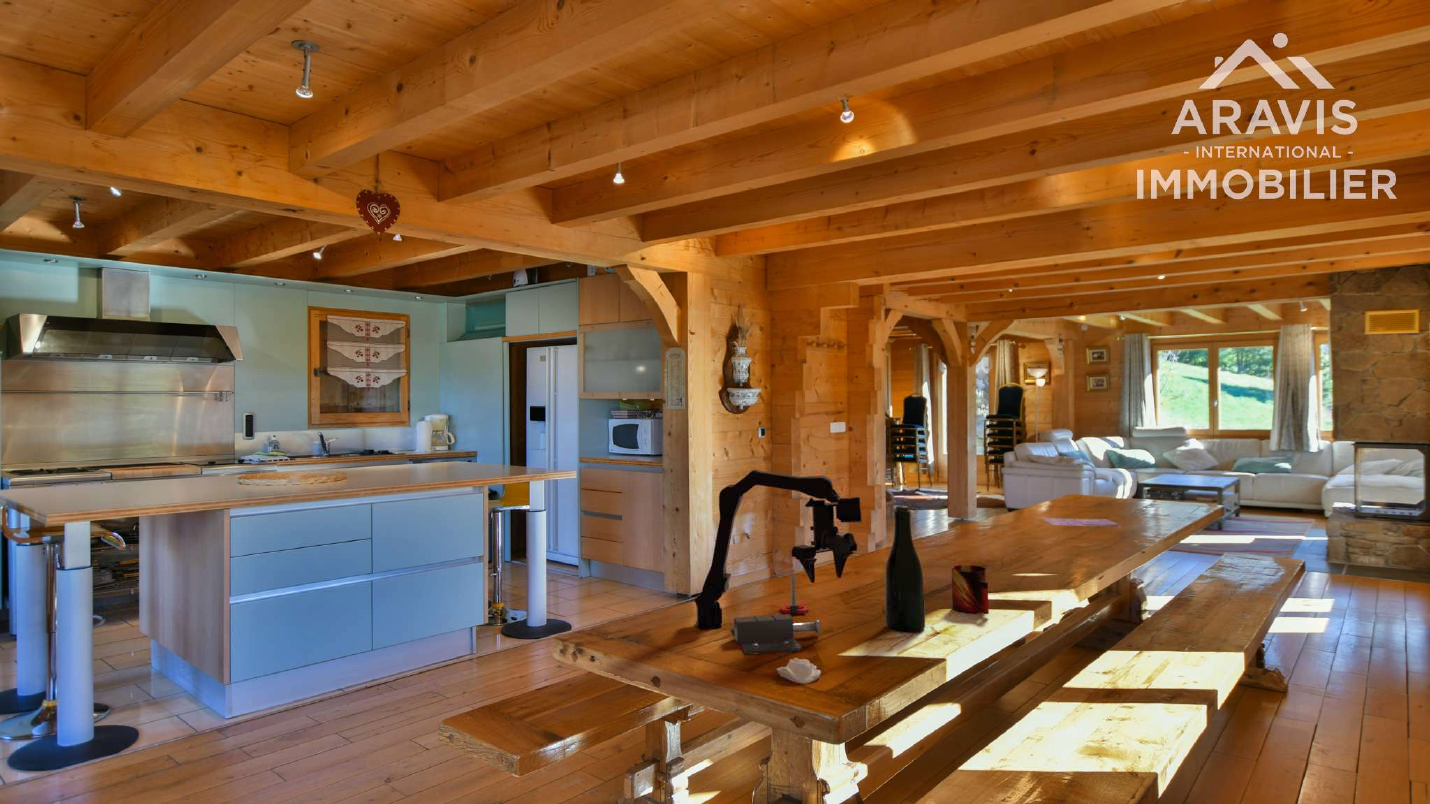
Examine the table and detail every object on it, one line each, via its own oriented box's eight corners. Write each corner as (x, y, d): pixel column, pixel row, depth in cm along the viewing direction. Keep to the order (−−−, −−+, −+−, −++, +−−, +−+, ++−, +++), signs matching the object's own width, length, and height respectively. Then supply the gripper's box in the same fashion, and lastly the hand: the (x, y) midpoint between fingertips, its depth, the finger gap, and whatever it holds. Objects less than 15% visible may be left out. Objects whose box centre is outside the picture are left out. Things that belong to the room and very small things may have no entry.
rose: (772, 663, 176) (780, 650, 186) (773, 683, 176) (780, 669, 186) (817, 666, 174) (823, 652, 183) (818, 686, 174) (823, 671, 183)
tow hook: (781, 608, 241) (779, 614, 232) (780, 565, 242) (778, 570, 232) (809, 608, 240) (808, 615, 230) (808, 565, 240) (807, 570, 231)
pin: (764, 638, 206) (764, 625, 206) (762, 634, 210) (761, 621, 210) (820, 634, 208) (820, 621, 208) (817, 631, 212) (817, 618, 212)
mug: (987, 618, 222) (986, 575, 222) (945, 609, 233) (944, 568, 233) (1006, 612, 228) (1005, 570, 228) (965, 603, 239) (964, 563, 239)
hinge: (743, 655, 196) (742, 631, 196) (729, 629, 218) (728, 608, 218) (801, 651, 198) (801, 627, 198) (782, 625, 220) (781, 605, 220)
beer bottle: (926, 623, 219) (923, 503, 219) (924, 634, 209) (921, 509, 209) (887, 621, 222) (884, 503, 222) (883, 632, 212) (880, 508, 212)
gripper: (815, 530, 204) (817, 591, 204) (869, 522, 214) (872, 580, 214) (789, 525, 214) (791, 583, 214) (842, 517, 223) (844, 573, 223)
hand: (826, 580), depth 216 cm, fingers open, 9 cm apart
